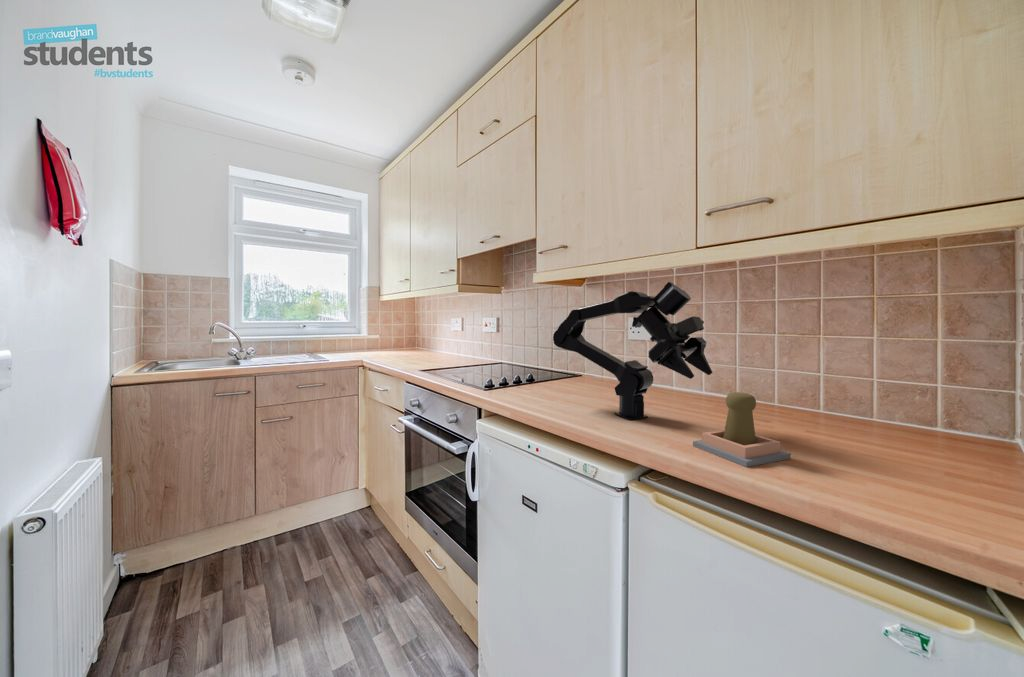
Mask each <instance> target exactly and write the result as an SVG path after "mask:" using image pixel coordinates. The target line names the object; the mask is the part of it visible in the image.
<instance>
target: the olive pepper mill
mask: <svg viewBox="0 0 1024 677" xmlns="http://www.w3.org/2000/svg"><path fill="white" fill-rule="evenodd" d="M725 404H726V406H727V408H728V410H727V417H726V421H725V426H724V430H725V431H724V436H723V438H724V439H726V440H729V441H732V442H735V443H738V444H741V445H744V446H745V445H751V444H756V438H755V434H756V430H755V423H754V422H755V421H754V415H753V411H754V410H755V409H756V405H757V401H756V398H755V396H754V395H752V394H750V393H747V392H739V391H737V392H730V393H728V394H727V396H726V397H725Z"/></svg>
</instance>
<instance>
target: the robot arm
mask: <svg viewBox="0 0 1024 677" xmlns="http://www.w3.org/2000/svg"><path fill="white" fill-rule="evenodd" d="M691 300H692V297H691V296H690V295H689V294H688V293H687V292H686V291H685V290H684V289H681V287H679V286H678V285H675V283H674V282H671V281H668V282H667V283H666V284H665V285H664V286H663V288H662V289H661V290H660V291H658V293H657V294H656V295H654V296H653V295H652V296H651V295H647V293H644V292H641V291H627V292H625V293H622V294H620V295H618V296H616V297H615V298H613V299H612V300H610V301H605V302H602V303H597V304H593V305H588V306H585V307H581V308H574V309H572V310H571V311H570V312H569V314H568V316H567V317H566V318H565V319H564V320H563V321H562V322H561V323H560V324H559V326H558V327H557V329H556V330H555V331H554V333H553V337H552V338H553V339H552V341H553V345H555V346H556V347H557V348H560V349H562V350H565V351H571V352H575V353H577V354H578V355H580V356H582V357H583V358H586V359H587V360H589V361H590V362H592V363H593V364H595V365H597V366H598V367H600V368H602V369H604V370H606V371H608V372H609V373H611V374H612V375H614V376H615V378H616V380H618V382H619V383H618V384H616V386H615V387H614V392H615V396H619V406H618V407H619V409H618V410H619V411H616V412H614V415H616V416H618V417H620V418H622V419H626V420H638V419H639V420H640V419H646V418H647V419H648V417H649V415H647V414H645V401H644V400H645V399H644V397H645V396H644V395H643V394H647V391H648V389H649V388H650V387H652V385H654V384H653V383H654V375H653V372H652V371H651V370H650V369H649V366H648V365H644V364H641V362H639V361H637V360H635V359H634V360H627V361H623V360H621V359H620V358H618V357H616V356H614V355H612V354H610V353H608V352H607V351H604V350H603V349H602V348H599V347H598V346H595V344H592V343H591V342H589V341H587V340H586V339H585V338H584V335H582V334H583V332H584V329H585V323H586V322H587V321H590V320H594V319H599V318H603V317H610V316H614V315H617V314H639V315H638V316H637V317H636V316H633V318H632V325H631V327H633V328H641V327H642V328H644V329H645V330H646V332H647V333H648V334H649V335H650V336H651V337H650V338H649V340H650V341H651V342H652V343H654V342H656V343H655V345H654V346H652V348H650V349H649V350H648V358H649V360H651V362H652V363H653V364H654V363H657V365H659V366H660V365H661V366H662V367H664V368H668V370H672V371H674V372H675V373H678V374H680V375H682V376H684V377H686V378H687V379H690V380H691V379H693V378H694V377H695V375H694V373H693V371H692V369H691V368H690V367H689V365H691V366H693V367H694V368H696V369H697V370H700V371H701V372H703V373H704V374H706V375H708V376H710V375H711V374H713V371H712V368H711V365H710V363H709V362H708V359H707V358H706V355H705V348H706V347H707V341H706V340H705V338H704V337H702V336H701V337H699V336H695V337H694V336H693V337H690V335H692V334H694V333H697V332H698V331H699V332H701V331H703V330H705V327H704V323H705V321H704V320H702V319H701V317H700V316H696V315H695V316H694V315H693V316H690V317H687V318H685V319H683V320H681V321H679V322H675V323H674V322H673V323H672V322H670V321H669V319H668V318H667V317H666V316H669V315H670V316H671V315H672V316H675V315H676V314H677V313H678V312H679V311H680V310H681V309H682V308H683V307H684V306H685V305H686V304H688V303H689V302H690V301H691ZM688 364H689V365H688Z"/></svg>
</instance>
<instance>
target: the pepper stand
mask: <svg viewBox="0 0 1024 677" xmlns="http://www.w3.org/2000/svg"><path fill="white" fill-rule="evenodd" d="M724 431H725V429H722V430H713V431H707V432H702V434H701V439H698V440H693V441H692V446H693V447H696V448H698V449H700V450H703V451H705V452H708V453H710V454H712V455H714V456H718V457H720V458H723V459H725V460H727V461H730V462H732V463H735V464H737V465H740V466H742V467H745V468H748V467H753V466H759V465H762V464H763V465H764V464H769V463H773V462H779V461H784V460H789V459H791V456H792V453H791V452H787V451H786V450H781V441H778V440H774V439H771V438H768V437H765V436H762V435H759V434H756V433H755V438H756V444H751V445H745V446H744V445H741V444H738V443H735V442H732V441H729V440H726V439H724V438H723V436H724Z"/></svg>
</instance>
